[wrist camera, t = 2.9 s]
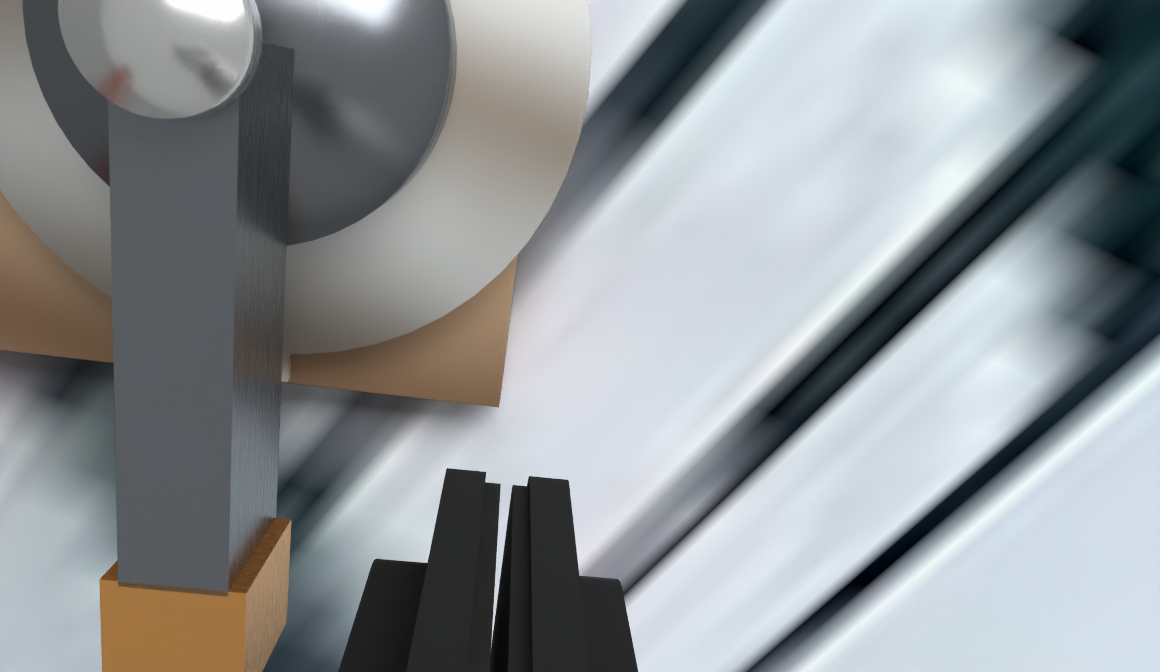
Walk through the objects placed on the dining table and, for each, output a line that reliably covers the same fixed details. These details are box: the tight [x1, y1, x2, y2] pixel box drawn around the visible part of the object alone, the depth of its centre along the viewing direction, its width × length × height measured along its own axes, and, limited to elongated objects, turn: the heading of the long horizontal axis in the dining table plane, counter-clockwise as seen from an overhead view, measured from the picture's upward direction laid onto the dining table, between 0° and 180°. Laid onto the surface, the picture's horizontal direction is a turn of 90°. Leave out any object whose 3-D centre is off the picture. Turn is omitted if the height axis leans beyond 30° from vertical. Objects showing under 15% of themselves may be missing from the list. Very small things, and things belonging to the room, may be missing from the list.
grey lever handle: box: [22, 0, 457, 672], centre depth 14 cm, size 15×7×4 cm, turn 172°
